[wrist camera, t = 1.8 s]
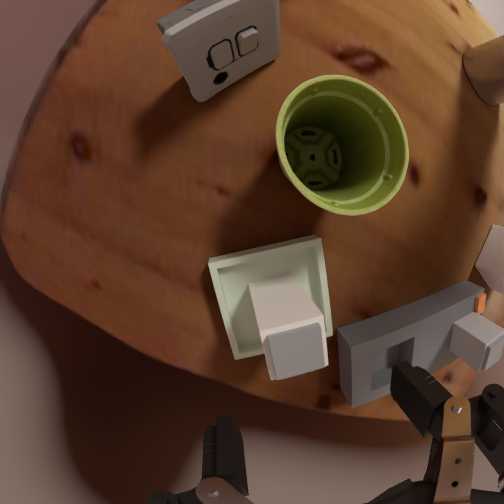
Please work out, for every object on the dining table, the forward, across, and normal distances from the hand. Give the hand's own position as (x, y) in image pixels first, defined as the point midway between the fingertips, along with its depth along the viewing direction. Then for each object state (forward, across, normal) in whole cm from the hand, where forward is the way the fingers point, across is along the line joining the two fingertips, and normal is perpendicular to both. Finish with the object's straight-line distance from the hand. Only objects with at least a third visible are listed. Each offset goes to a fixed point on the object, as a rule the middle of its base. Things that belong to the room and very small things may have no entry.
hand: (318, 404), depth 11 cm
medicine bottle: (+15, -33, +4) cm, 37 cm away
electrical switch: (+15, 0, -23) cm, 28 cm away
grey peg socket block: (+15, -16, +10) cm, 24 cm away
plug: (+14, 0, 0) cm, 14 cm away
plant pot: (+15, -6, -12) cm, 20 cm away
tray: (+15, 0, 0) cm, 15 cm away
